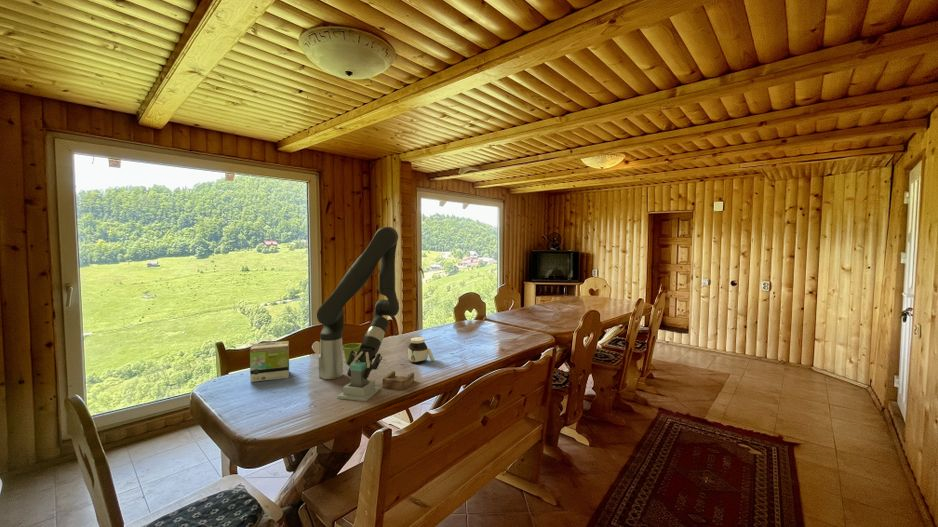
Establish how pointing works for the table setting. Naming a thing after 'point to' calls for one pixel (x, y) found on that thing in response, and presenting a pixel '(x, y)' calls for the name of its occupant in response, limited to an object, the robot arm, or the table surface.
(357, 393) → the port block
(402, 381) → the cradle
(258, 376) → the tea box
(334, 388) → the table surface
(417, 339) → the spread jar
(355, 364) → the plug
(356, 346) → the plant pot
